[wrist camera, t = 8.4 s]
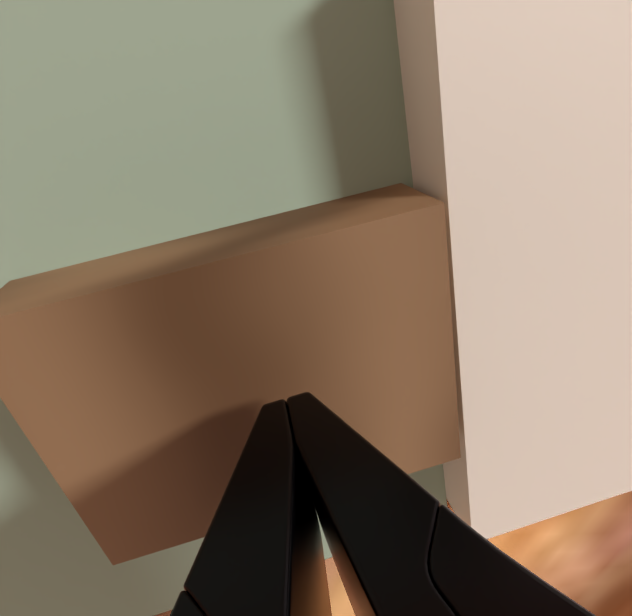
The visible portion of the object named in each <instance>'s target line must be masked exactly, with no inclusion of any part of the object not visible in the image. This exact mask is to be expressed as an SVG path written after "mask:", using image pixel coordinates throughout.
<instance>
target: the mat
mask: <svg viewBox="0 0 632 616" xmlns="http://www.w3.org/2000/svg"><path fill="white" fill-rule="evenodd" d="M399 183H402V184H405V185H407V186H409V187H411V188H413V179H412V170H411V161H410V151H409V142H408V132H407V123H406V113H405V104H404V95H403V85H402V76H401V66H400V57H399V48H398V38H397V29H396V19H395V10H394V1H393V0H0V289H1V288H2V287H3V286H4V285H5V284H7V283H8V282H9V281H11V280H15V279H19V278H23V277H27V276H31V275H35V274H39V273H43V272H47V271H51V270H55V269H59V268H63V267H67V266H71V265H75V264H79V263H83V262H87V261H91V260H95V259H99V258H103V257H107V256H111V255H115V254H119V253H123V252H127V251H131V250H135V249H139V248H143V247H147V246H151V245H155V244H159V243H163V242H167V241H171V240H175V239H179V238H183V237H187V236H191V235H195V234H199V233H203V232H207V231H211V230H215V229H219V228H223V227H227V226H231V225H235V224H239V223H243V222H247V221H251V220H255V219H259V218H263V217H267V216H271V215H275V214H279V213H283V212H287V211H291V210H295V209H299V208H303V207H307V206H311V205H315V204H319V203H323V202H327V201H331V200H335V199H339V198H343V197H347V196H351V195H355V194H359V193H363V192H367V191H371V190H375V189H379V188H383V187H387V186H391V185H395V184H399ZM408 475H409V476H410V477H411V478H413V479H414V480H415V481H416V482H417V483H419V484H420V485H421V486H422V487H423V488H424V489H426V490H427V491H428V492H429V493H430V494H432V495H433V496H434V497H435V498H436V499H438V500H439V501H440V505H445V506H446V507H447V499H446V490H445V480H444V471H443V464H439V465H436V466H433V467H430V468H426V469H423V470H420V471H417V472H414V473H410V474H408ZM317 516H318V515H317ZM318 520H319V518H318ZM319 525H320V531H321V537H322V544H323V551H324V559H328V558H331V557H333V556H332V554H331V551H330V549H329V546H328V544H327V541H326V538H325V536H324V533H323V530H322V527H321V524H320V521H319ZM203 539H204V538H200V539H197V540H194V541H191V542H187V543H184V544H181V545H178V546H174V547H171V548H168V549H165V550H162V551H158V552H155V553H152V554H149V555H145V556H142V557H139V558H136V559H132V560H129V561H126V562H123V563H120V564H116V565H112V563H111V562H110V560H109V559H108V557H107V556H106V554H105V553H104V551H103V550H102V548H101V547H100V546H99V544H98V543H97V541H96V540H95V538H94V537H93V535H92V534H91V532H90V531H89V529H88V528H87V526H86V525H85V523H84V522H83V520H82V519H81V517H80V516H79V514H78V513H77V511H76V510H75V508H74V507H73V505H72V504H71V502H70V501H69V499H68V498H67V496H66V495H65V493H64V492H63V490H62V489H61V487H60V486H59V484H58V483H57V481H56V480H55V479H54V477H53V476H52V474H51V473H50V471H49V470H48V468H47V467H46V465H45V464H44V462H43V461H42V459H41V458H40V456H39V455H38V453H37V452H36V450H35V449H34V447H33V446H32V444H31V443H30V441H29V440H28V438H27V437H26V435H25V434H24V432H23V431H22V429H21V428H20V426H19V425H18V423H17V422H16V420H15V419H14V417H13V416H12V414H11V413H10V411H9V410H8V409H7V407H6V406H5V404H4V403H3V401H2V400H1V398H0V616H155V615H158V614H161V613H164V612H167V611H170V610H173V607H174V605H175V603H176V600H177V598H178V596H179V593H180V592H181V591H183V590H184V587H183V586H184V583H185V581H186V578H187V576H188V574H189V571H190V569H191V567H192V565H193V562H194V560H195V558H196V555H197V553H198V551H199V549H200V546H201V544H202V542H203Z"/></svg>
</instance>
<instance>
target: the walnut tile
mask: <svg viewBox="0 0 632 616" xmlns="http://www.w3.org/2000/svg"><path fill="white" fill-rule="evenodd" d="M304 392H310V393H311V394H312V395H314V396H315V397H316V398H317V399H318V400H320V401H321V402H322V403H323V404H324V405H326V406H327V407H328V408H329V409H330V410H332V411H333V412H334V413H335V414H336V415H338V416H339V417H340V418H341V419H342V420H343V421H345V422H346V423H347V424H348V425H349V426H351V427H352V428H353V429H354V430H355V431H357V432H358V433H359V434H360V435H361V436H363V437H364V438H365V439H366V440H367V441H368V442H370V443H371V444H372V445H373V446H374V447H376V448H377V449H378V450H379V451H380V452H382V453H383V454H384V455H385V456H386V457H388V458H389V459H390V460H391V461H392V462H394V463H395V464H396V465H397V466H398V467H399V468H401V469H402V470H403V471H404V472H405V473H407V474H410V473H414V472H417V471H420V470H423V469H426V468H430V467H433V466H436V465H439V464H443V463H446V462H449V461H452V460H456V459H459V458H461V452H460V436H459V421H458V405H457V390H456V374H455V359H454V343H453V328H452V312H451V297H450V281H449V266H448V250H447V235H446V220H445V204H444V202H442V201H440V200H437V199H435V198H433V197H431V196H429V195H426V194H424V193H422V192H420V191H418V190H416V189H413V188H411V187H409V186H407V185H405V184H402V183H399V184H395V185H391V186H387V187H383V188H379V189H375V190H371V191H367V192H363V193H359V194H355V195H351V196H347V197H343V198H339V199H335V200H331V201H327V202H323V203H319V204H315V205H311V206H307V207H303V208H299V209H295V210H291V211H287V212H283V213H279V214H275V215H271V216H267V217H263V218H259V219H255V220H251V221H247V222H243V223H239V224H235V225H231V226H227V227H223V228H219V229H215V230H211V231H207V232H203V233H199V234H195V235H191V236H187V237H183V238H179V239H175V240H171V241H167V242H163V243H159V244H155V245H151V246H147V247H143V248H139V249H135V250H131V251H127V252H123V253H119V254H115V255H111V256H107V257H103V258H99V259H95V260H91V261H87V262H83V263H79V264H75V265H71V266H67V267H63V268H59V269H55V270H51V271H47V272H43V273H39V274H35V275H31V276H27V277H23V278H19V279H15V280H11V281H9V282H8V283H7V284H5V285H4V286H3V287H2V288H1V289H0V398H1V400H2V401H3V403H4V404H5V406H6V407H7V409H8V410H9V411H10V413H11V414H12V416H13V417H14V419H15V420H16V422H17V423H18V425H19V426H20V428H21V429H22V431H23V432H24V434H25V435H26V437H27V438H28V440H29V441H30V443H31V444H32V446H33V447H34V449H35V450H36V452H37V453H38V455H39V456H40V458H41V459H42V461H43V462H44V464H45V465H46V467H47V468H48V470H49V471H50V473H51V474H52V476H53V477H54V479H55V480H56V481H57V483H58V484H59V486H60V487H61V489H62V490H63V492H64V493H65V495H66V496H67V498H68V499H69V501H70V502H71V504H72V505H73V507H74V508H75V510H76V511H77V513H78V514H79V516H80V517H81V519H82V520H83V522H84V523H85V525H86V526H87V528H88V529H89V531H90V532H91V534H92V535H93V537H94V538H95V540H96V541H97V543H98V544H99V546H100V547H101V548H102V550H103V551H104V553H105V554H106V556H107V557H108V559H109V560H110V562H111V563H112V565H116V564H120V563H123V562H126V561H129V560H132V559H136V558H139V557H142V556H145V555H149V554H152V553H155V552H158V551H162V550H165V549H168V548H171V547H174V546H178V545H181V544H184V543H187V542H191V541H194V540H197V539H200V538H204V537H205V535H206V533H207V530H208V528H209V526H210V523H211V521H212V519H213V517H214V514H215V512H216V510H217V507H218V505H219V503H220V501H221V498H222V496H223V494H224V492H225V489H226V487H227V485H228V482H229V480H230V478H231V476H232V473H233V471H234V469H235V466H236V464H237V462H238V460H239V457H240V455H241V453H242V450H243V448H244V446H245V444H246V441H247V439H248V437H249V434H250V432H251V430H252V428H253V425H254V423H255V421H256V418H257V416H258V414H259V412H260V409H261V407H262V406H263V405H264V404H267V403H270V402H274V401H277V400H280V399H284V400H285V401H286V402H287V399H288V397H291V396H294V395H297V394H300V393H304Z"/></svg>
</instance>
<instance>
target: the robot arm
mask: <svg viewBox="0 0 632 616" xmlns="http://www.w3.org/2000/svg"><path fill="white" fill-rule="evenodd" d="M317 515H318V516H317ZM318 518H319V520H318ZM319 521H320V524H321V527H322V530H323V533H324V536H325V538H326V541H327V544H328V546H329V549H330V551H331V554H332V556H333V559H334V562H335V564H336V567H337V569H338V572H339V574H340V577H341V580H342V582H343V585H344V587H345V590H346V592H347V595H348V597H349V600H350V603H351V605H352V608H353V610H354V613H355V615H356V616H596V615H594V614H593V613H591V612H590V611H588V610H587V609H585V608H584V607H582V606H581V605H579V604H578V603H576V602H575V601H573V600H572V599H570V598H569V597H567V596H566V595H564V594H563V593H561V592H560V591H558V590H557V589H556V588H554V587H553V586H551V585H550V584H548V583H547V582H545V581H544V580H542V579H541V578H539V577H538V576H536V575H535V574H534V573H532V572H531V571H529V570H528V569H527V568H525V567H524V566H522V565H521V564H519V563H518V562H517V561H515V560H514V559H512V558H511V557H509V556H508V555H507V554H505V553H504V552H502V551H501V550H500V549H498V548H497V547H496V546H494V545H493V544H492V543H491V542H489V541H488V540H487V539H486V538H484V537H483V536H482V535H481V534H479V533H478V532H477V531H475V530H474V529H473V528H472V527H470V526H469V525H468V524H467V523H465V522H464V521H463V520H462V519H461V518H459V517H458V516H457V515H456V514H455V513H453V512H452V511H451V510H450V509H449V508H448V507H446V506H445V505H440V501H439V500H438V499H436V498H435V497H434V496H433V495H432V494H430V493H429V492H428V491H427V490H426V489H424V488H423V487H422V486H421V485H420V484H419V483H417V482H416V481H415V480H414V479H413V478H411V477H410V476H409V475H408V474H407V473H405V472H404V471H403V470H402V469H401V468H399V467H398V466H397V465H396V464H395V463H394V462H392V461H391V460H390V459H389V458H388V457H386V456H385V455H384V454H383V453H382V452H380V451H379V450H378V449H377V448H376V447H374V446H373V445H372V444H371V443H370V442H368V441H367V440H366V439H365V438H364V437H363V436H361V435H360V434H359V433H358V432H357V431H355V430H354V429H353V428H352V427H351V426H349V425H348V424H347V423H346V422H345V421H343V420H342V419H341V418H340V417H339V416H338V415H336V414H335V413H334V412H333V411H332V410H330V409H329V408H328V407H327V406H326V405H324V404H323V403H322V402H321V401H320V400H318V399H317V398H316V397H315V396H314V395H312V394H311V393H310V392H304V393H300V394H297V395H294V396H291V397H288V399H287V402H286V401H285V400H284V399H280V400H277V401H274V402H270V403H267V404H264V405H263V406H262V407H261V409H260V412H259V414H258V416H257V418H256V421H255V423H254V425H253V428H252V430H251V432H250V434H249V437H248V439H247V441H246V444H245V446H244V448H243V450H242V453H241V455H240V457H239V460H238V462H237V464H236V466H235V469H234V471H233V473H232V476H231V478H230V480H229V482H228V485H227V487H226V489H225V492H224V494H223V496H222V498H221V501H220V503H219V505H218V507H217V510H216V512H215V514H214V517H213V519H212V521H211V523H210V526H209V528H208V530H207V533H206V535H205V537H204V539H203V542H202V544H201V546H200V549H199V551H198V553H197V555H196V558H195V560H194V562H193V565H192V567H191V569H190V571H189V574H188V576H187V578H186V581H185V583H184V586H183V587H184V590H183V591H181V592H180V593H179V596H178V598H177V600H176V603H175V605H174V607H173V610H172V612H171V614H170V616H332V613H331V605H330V598H329V590H328V582H327V575H326V567H325V559H324V551H323V544H322V537H321V531H320V525H319Z"/></svg>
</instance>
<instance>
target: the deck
mask: <svg viewBox="0 0 632 616" xmlns="http://www.w3.org/2000/svg"><path fill="white" fill-rule="evenodd" d="M393 1H394V10H395V19H396V29H397V38H398V48H399V57H400V66H401V76H402V85H403V95H404V104H405V113H406V123H407V132H408V142H409V151H410V161H411V170H412V179H413V189H416V190H418V191H420V192H422V193H424V194H426V195H429V196H431V197H433V198H435V199H437V200H440V201H442V202H444V204H445V220H446V235H447V250H448V266H449V281H450V297H451V312H452V328H453V343H454V359H455V374H456V390H457V405H458V421H459V436H460V452H461V458H459V459H456V460H452V461H449V462H446V463H443V471H444V480H445V490H446V498H447V500H448V502H449V504H450V505H451V507H452V509H453V511H454V512H455V514H456V515H457V516H458V517H459V518H461V519H462V520H463V521H464V522H465V523H467V524H468V525H469V526H470V527H472V528H473V529H474V530H475V531H477V532H478V533H479V534H481V535H482V536H483V537H484V538H486V539H489V538H492V537H495V536H498V535H501V534H504V533H507V532H510V531H513V530H516V529H519V528H522V527H525V526H528V525H531V524H534V523H537V522H540V521H543V520H546V519H549V518H552V517H554V516H557V515H560V514H563V513H566V512H569V511H572V510H575V509H578V508H581V507H584V506H587V505H590V504H593V503H596V502H599V501H602V500H605V499H608V498H611V497H614V496H617V495H620V494H623V493H626V492H629V491H632V0H393Z"/></svg>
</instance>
